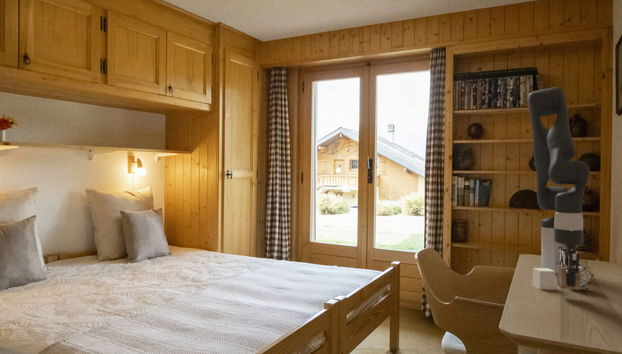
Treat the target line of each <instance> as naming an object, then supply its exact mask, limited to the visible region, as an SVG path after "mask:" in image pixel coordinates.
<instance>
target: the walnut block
mask: <svg viewBox="0 0 622 354" xmlns="http://www.w3.org/2000/svg"><path fill="white" fill-rule="evenodd" d="M571 268H572V269H573V266H571ZM578 271H579V272H578V273H576V274H575V286H574V287H572V286H567V284H566V266H565V265H557V273H556V285H557V286H558V287H559V288H560V289H568V290H575V289H577V291H581V288H580V269H578Z"/></svg>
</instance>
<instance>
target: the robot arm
mask: <svg viewBox="0 0 622 354" xmlns="http://www.w3.org/2000/svg"><path fill="white" fill-rule="evenodd" d="M566 101H567V100H566V96H565V93H564V90H563V89H562V88H561V87H560V86H559V87H558V86H555V87H550V88H544V89H539V90H535V91H534V90H533V91H531V92H530V93H529V94H528V96H527V105H528V111H529V112H528V113H529V118H530V124H531V131H532V142H533V145H532V146H533V157H534V165H535V172H536V199H537V201H536V202H537V205H538V207H539V209H541V210H546V211H547V210H548V211H555V212H554V216H551V217H548V218H547V217H546V218H543V219H542V220H541V223H540V224H541V225H540V226H541V229H540V232H541V234H540V235H541V236H540V241H541V242H540V243H541V245H540V247H541V250H540V253H541V256H540V257H541V259H540V260H541V261H540V268H549V269H551V270H553V271H556V274H557V265H565V266H566V284H567V286H572V287H574V286H575V274H576V273H578V272H579V271H578V269H579V264H580V256H581V255H580V253H578V250H577V248H576V245H579V246H580V245H583V243H584V217H583V198H584V194H585V190H586V187H587V184H588V182H589V177H590V175H591V173H590V171H591V170H590V167H589V166H588V164H587V163H586V162H585V161H581V160H573V159H574V158H575V157H576V155H577V151H576V147H575V144H574V141H573V137H572V133H571V130H570V129H571V128H570V121H569V119H570V118H569V113H568V106H567V105H568V104H567V102H566ZM553 115H556V119H555V121H554V122H553V124H552V126H550V127H551V128H550V129H548V128H547V127H546V125H545V124H544V122H543V121H542V120H541V117H548V116H553ZM549 180H550V182H552V183H553V184H555V185H573V186H572V187H571V189H570V190H569V189H568V187H566V186H550V185H549V186H547V185H548V182H549ZM571 266H573V269H572V268H571Z"/></svg>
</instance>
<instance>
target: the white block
mask: <svg viewBox="0 0 622 354" xmlns="http://www.w3.org/2000/svg"><path fill="white" fill-rule="evenodd" d="M556 285H557V273H556V271H553V270H551V269H549V268H541V267H533V268H532V286H533V287H535V288H536V289H538V290H550V291H551V290H552V291H554V290H556V288H557V287H556Z"/></svg>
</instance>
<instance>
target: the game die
mask: <svg viewBox="0 0 622 354" xmlns="http://www.w3.org/2000/svg"><path fill="white" fill-rule="evenodd" d="M579 269H580V289H585V290H587V291H588V290H589V289H588V285H589V284H592V282H591V278H592V277H594V276H595V275H594V274H591V273H590V272H589V271H588V270H587V266H584V267H582V266H581V264H580V263H579ZM574 291H575V292H577V291H578V290H577V289H574Z"/></svg>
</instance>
